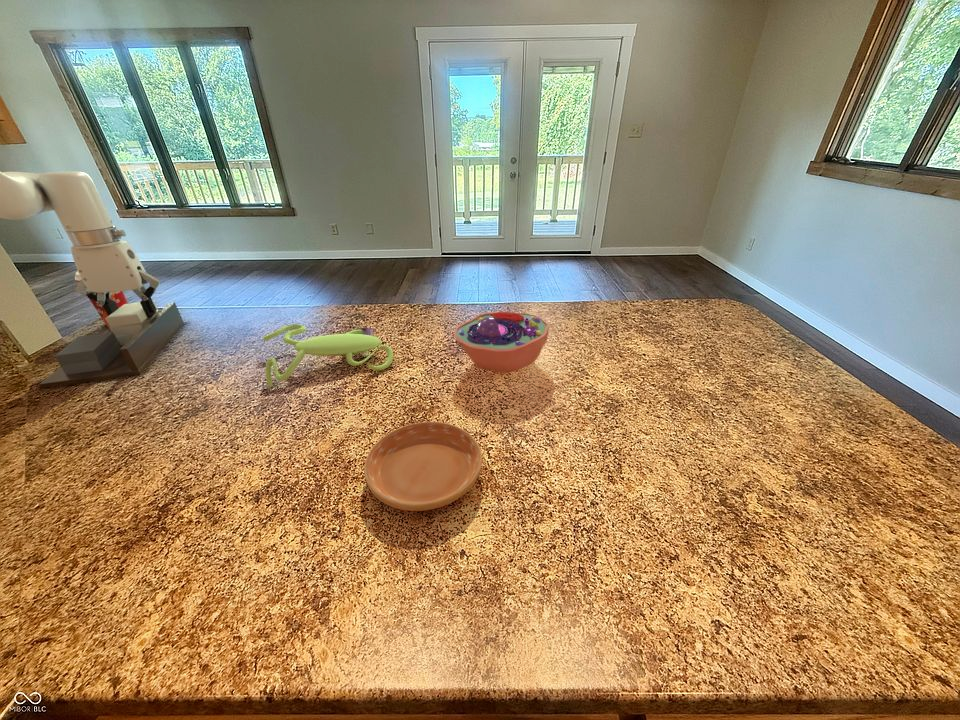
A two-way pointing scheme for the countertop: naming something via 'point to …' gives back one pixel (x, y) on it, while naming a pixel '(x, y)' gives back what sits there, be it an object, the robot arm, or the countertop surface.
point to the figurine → (328, 348)
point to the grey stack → (89, 353)
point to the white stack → (129, 330)
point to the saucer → (423, 466)
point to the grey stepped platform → (129, 351)
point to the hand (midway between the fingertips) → (134, 316)
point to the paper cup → (115, 296)
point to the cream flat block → (127, 315)
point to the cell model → (502, 340)
